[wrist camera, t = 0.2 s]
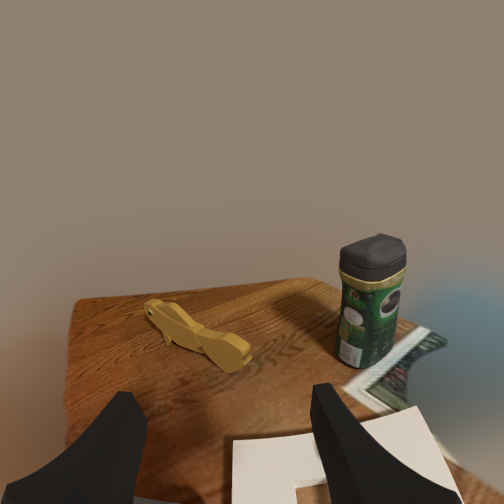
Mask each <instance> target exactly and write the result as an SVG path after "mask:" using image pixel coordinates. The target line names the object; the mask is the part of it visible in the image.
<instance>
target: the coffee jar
mask: <svg viewBox="0 0 504 504" xmlns="http://www.w3.org/2000/svg"><path fill="white" fill-rule="evenodd" d="M405 268H406V247H405V245H404V244H403V242H402V240H401V239H398V238H395V237H392V236H388V235H385V234H378V235H376V236H373V237H370V238H366V239H363V240H360V241H358V242H355V243H353V244H350V245H347V246H345V247H343V248H342V249H341V250H340V262H339V274H340V277H341V280H342V301H341V310H340V318H339V324H338V329H337V336H336V342H335V353H336V355H337V356H338V357H339V358H340V359H341V360H342V361H343V362H344V363H346V364H347V365H349V366H352V367H355V368H360V369H364V368H368V367H370V366H372V365H374V364H375V363H377V362H378V361H380V360H381V359H382V358H383V357H385V356H386V355H387V354H388V353H389V352H390V350H391V349H392V347H393V344H394V338H395V331H396V323H397V315H398V308H399V299H400V291H401V286H402V281H403V277H404V273H405Z"/></svg>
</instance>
